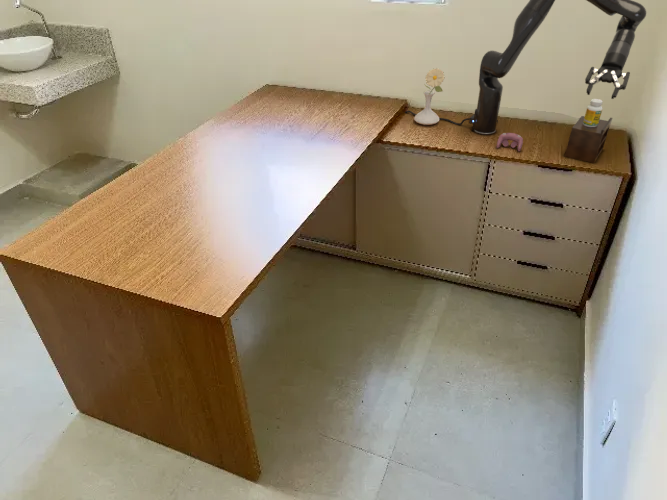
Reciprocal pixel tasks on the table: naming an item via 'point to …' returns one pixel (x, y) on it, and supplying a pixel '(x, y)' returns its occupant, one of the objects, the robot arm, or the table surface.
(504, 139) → the video game controller
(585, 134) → the dark wooden box
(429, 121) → the flower in vase
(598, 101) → the supplement bottle
